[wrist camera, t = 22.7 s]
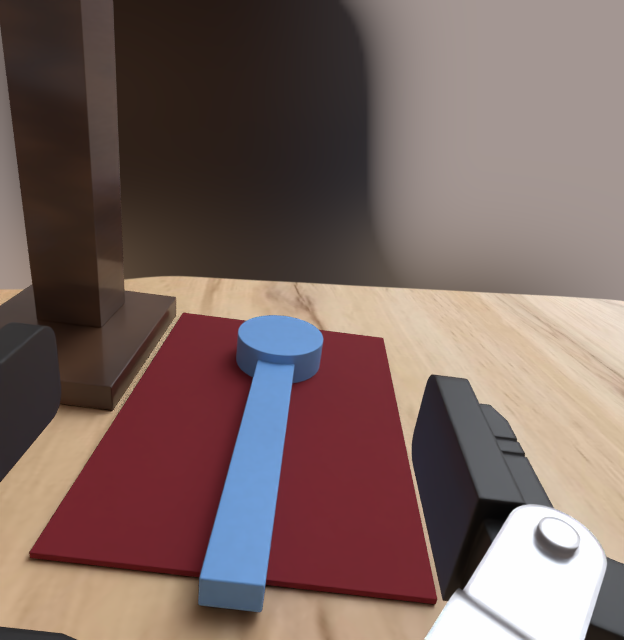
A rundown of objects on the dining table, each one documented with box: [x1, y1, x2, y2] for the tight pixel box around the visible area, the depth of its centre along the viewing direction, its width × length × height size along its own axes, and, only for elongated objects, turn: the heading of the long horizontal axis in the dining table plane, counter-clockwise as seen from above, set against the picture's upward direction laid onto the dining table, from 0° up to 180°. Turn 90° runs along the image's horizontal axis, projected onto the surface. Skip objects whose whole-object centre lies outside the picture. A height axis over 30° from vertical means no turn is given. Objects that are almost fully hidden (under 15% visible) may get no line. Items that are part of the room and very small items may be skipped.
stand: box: [0, 0, 176, 410], centre depth 25 cm, size 10×13×32 cm
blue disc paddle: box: [198, 315, 323, 612], centre depth 26 cm, size 5×20×2 cm, turn 178°
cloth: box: [29, 313, 437, 604], centre depth 28 cm, size 15×21×1 cm
